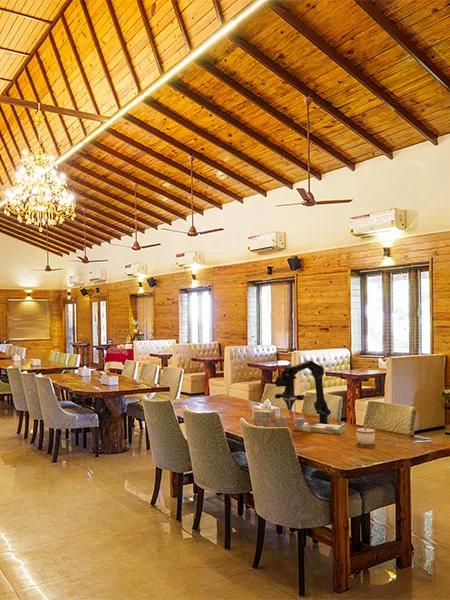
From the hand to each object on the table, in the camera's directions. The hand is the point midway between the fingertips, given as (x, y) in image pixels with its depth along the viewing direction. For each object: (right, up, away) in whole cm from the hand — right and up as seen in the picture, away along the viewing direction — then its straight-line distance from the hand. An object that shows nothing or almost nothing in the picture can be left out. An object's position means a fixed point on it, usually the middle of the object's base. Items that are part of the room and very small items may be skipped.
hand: (289, 410), depth 363 cm
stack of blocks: (-13, -12, -7) cm, 19 cm away
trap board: (+18, -12, -6) cm, 23 cm away
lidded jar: (+39, -11, -42) cm, 58 cm away
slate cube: (+6, -9, -3) cm, 11 cm away
